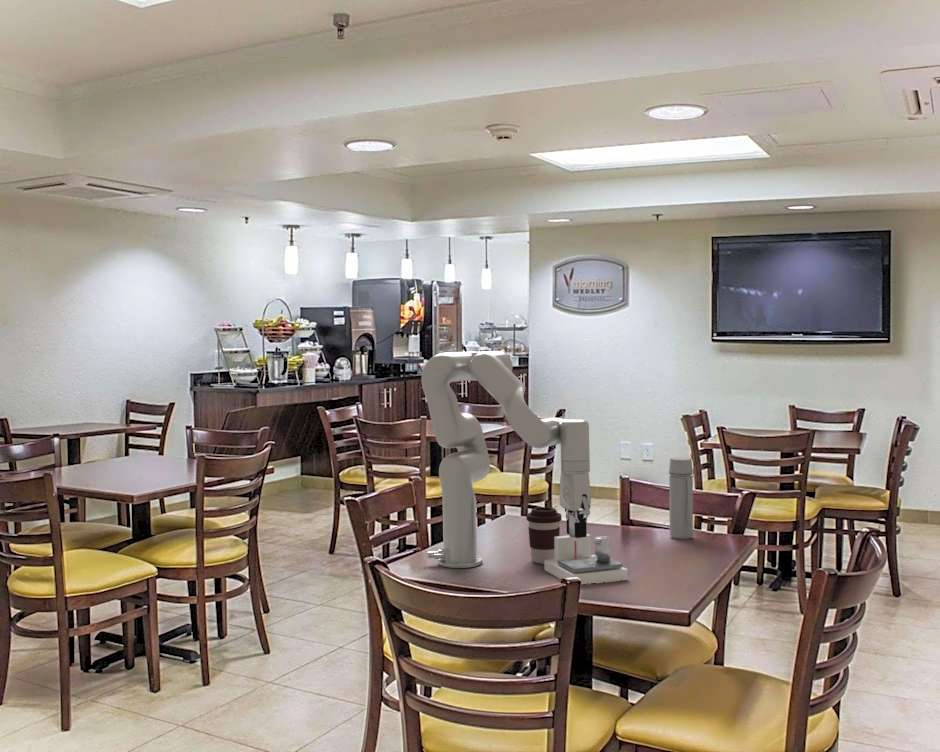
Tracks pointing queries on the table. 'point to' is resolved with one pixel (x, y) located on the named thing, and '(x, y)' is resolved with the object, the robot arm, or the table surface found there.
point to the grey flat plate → (588, 564)
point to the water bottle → (681, 497)
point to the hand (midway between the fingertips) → (576, 534)
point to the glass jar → (602, 549)
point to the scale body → (579, 549)
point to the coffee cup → (543, 532)
